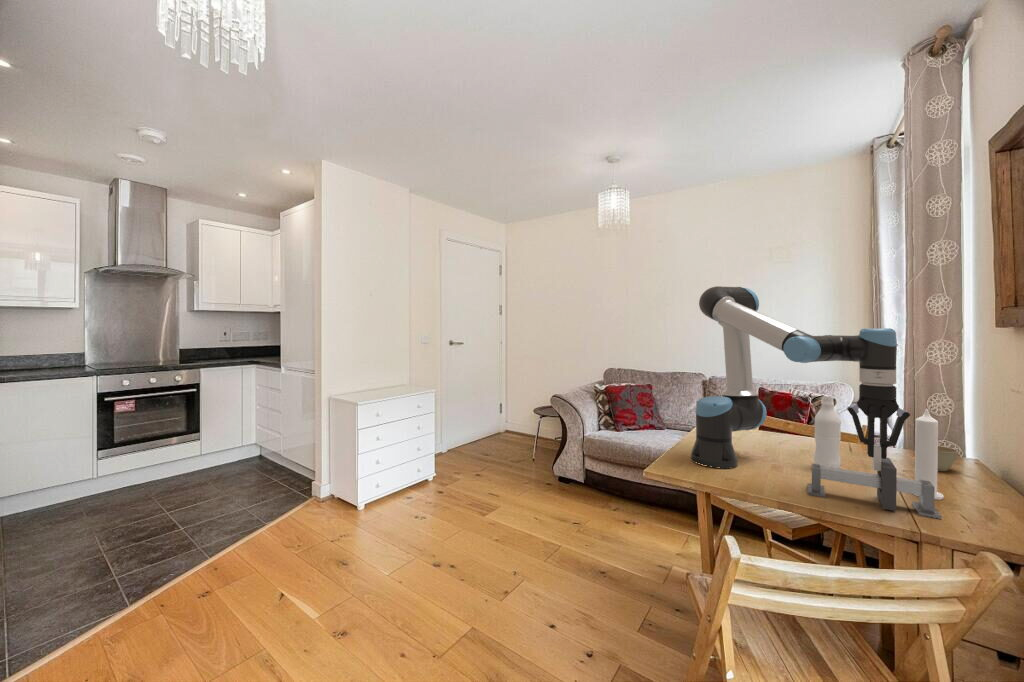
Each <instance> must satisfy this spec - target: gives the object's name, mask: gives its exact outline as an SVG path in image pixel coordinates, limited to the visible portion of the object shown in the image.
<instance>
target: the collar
mask: <svg viewBox="0 0 1024 682" xmlns="http://www.w3.org/2000/svg"><path fill="white" fill-rule="evenodd" d="M897 471H898V470H897V467H896V466H895V465H894V463H893V461H892V460H891V458H890V457H886V459H882V458H881V471H876V474H879V475H882V489H880V488H876V495H877V497H878V501H880V505H881V507H882V509H883V510H888V511H889V510H890V511H894V512H897V493H896V482H897V477H898V476H897V475H898V474H897Z"/></svg>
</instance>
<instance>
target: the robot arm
mask: <svg viewBox="0 0 1024 682" xmlns="http://www.w3.org/2000/svg"><path fill="white" fill-rule="evenodd" d="M698 300H699V301H698V306H699V309H700V311H701V313H702V314H704V316H706V317H708V318H709V319H711V320H713V321H715V322H717V323H718V325H719V326H721V327H722V330H723V332H722V333H723V347H724V348H723V349H724V350H723V351H724V365H725V377H726V378H725V379H726V382H725V383H726V390H725V391H724V392H723V393H722V395H720V396H719V395H714V396H710V395H709V396H705V397H701V398H698V400H697V401H696V403H695V404H696V406H695V407H696V408H695V435H696V436H695V441H694V445H693V447H692V449H691V452H690V460H691V459H692V460H693V461H695V462H697V463H700V464H703V465H707V466H712V467H720V468H719V469H723V468H726V469H731V468H730V467H734V468H736V467H738V456H737V454H736V450H735V449H734V445H733V440H732V439H733V432H738V431H739V432H740V431H741V432H742V431H750V430H754V429H757V428H759V427H761V426H762V425H763V424H764V423H765V422H766V419H767V415H768V414H767V413H768V412H767V407H766V406H765V404H764V403H763V401H761V400H760V399H759V393H757V391H755V390H754V385H753V372H752V371H753V370H752V368H753V367H752V355H751V354H752V353H751V339H750V336H752V337H754V338H756V339H757V340H759V341H761V342H763V343H766V344H767V345H770V346H771V347H773V348H775V349H778V350H779V351H782V352H783V353H784V355H785V357H786V358H787V360H790V361H791V362H794V363H799V364H800V363H801V364H807V363H818V362H837V361H838V362H858V363H859V369H858V370H859V371H858V372H859V373H858V374H859V375H858V377H859V378H858V379H859V382H860V383H861V384H860V385H859V388H858V391H859V392H858V393H859V394H858V395H859V396H858V397H859V398H858V400H857V401H856V404H854V405H852V406H847V407H846V410H847V411H848V413H849V414H850V415H851V416H852V421H853V424H854V428H855V430H856V433H857V436H858V437H857V438H858V440H859V442H860V443H863V444H865V445H867V449H866V450H867V453H866V455H868V457H869V458H872V469H873V471H876V472H877V471H881V458H882V459H886V458H888V457H887V456H888V453H887V452H888V449H887V448H888V447H895V446H896V445H897V444H898V442H899V441H898V440H899V438H900V435H901V432H902V429H903V427H904V424H905V422H906V420H907V419H908V418H909V417H910V416H911V414H910V412H908V411H907V410H904V409H902V408H901V407H900V405H899V404H898V401H897V387H896V386H895V385H896V384H897V353H898V350H897V349H898V343H897V341H898V340H897V332H896V330H895V329H893V328H889V327H888V328H861V329H860V330H859V333H858V334H856V335H836V334H834V335H833V334H828V335H827V334H824V335H812V334H809V333H807V332H805V331H802V330H800V329H798V328H795V327H794V326H791V325H789V324H786V323H784V322H782V321H780V320H777V319H775V318H774V317H770V316H768V315H766V314H763V313H761V312H759V311H758V310H759V307H760V301H759V297H758V296H757V294H756V292H755V291H753V290H752V289H750V288H746V287H742V286H722V285H721V286H720V285H719V286H712V287H709V288H707V289H706V290H705V291H704V292H702V294H701V296H700V297H699V299H698ZM859 409H860V410H861V411H862V413H863V414H864V415H865V416H866V418H867V424H866V425H867V432H866V434H867V435H866V436H867V437H865V434H864V431H863V428H862V424H861V421H860V418H859V416H858V415H859ZM895 413H896V416H897V417H896V420H895V423H894V424H893V425H894V426H893V427H892V430H891V433H890V437H889V439H888V419H889V418H890V417H891V416H892V415H894V414H895ZM877 418H878V419H879V444H875V422H876V421H875V419H877ZM692 460H691V461H692ZM693 461H692V462H693ZM735 466H736V467H735ZM712 467H711V468H712Z"/></svg>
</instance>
